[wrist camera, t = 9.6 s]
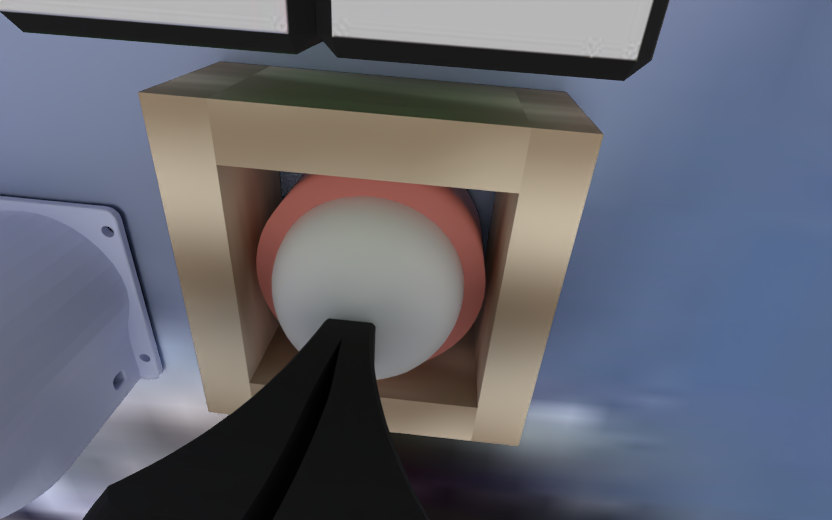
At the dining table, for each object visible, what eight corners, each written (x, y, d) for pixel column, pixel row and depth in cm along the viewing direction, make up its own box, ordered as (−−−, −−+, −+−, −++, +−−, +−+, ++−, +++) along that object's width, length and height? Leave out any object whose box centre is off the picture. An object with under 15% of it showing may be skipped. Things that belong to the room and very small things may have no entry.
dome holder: (507, 356, 23) (518, 445, 18) (255, 329, 23) (208, 411, 19) (566, 92, 16) (603, 134, 12) (220, 61, 17) (138, 92, 13)
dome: (468, 325, 21) (471, 450, 16) (291, 307, 21) (233, 424, 16) (496, 152, 17) (513, 238, 12) (277, 132, 17) (193, 207, 12)
